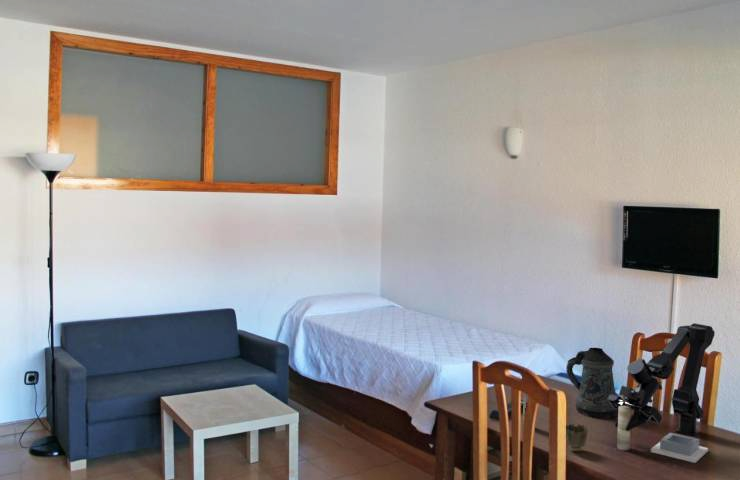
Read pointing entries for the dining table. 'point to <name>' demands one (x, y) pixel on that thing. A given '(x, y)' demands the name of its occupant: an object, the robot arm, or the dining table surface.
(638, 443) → the dining table surface
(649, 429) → the dining table surface
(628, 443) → the peg
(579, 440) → the cup
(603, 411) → the beer stein
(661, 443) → the socket block
